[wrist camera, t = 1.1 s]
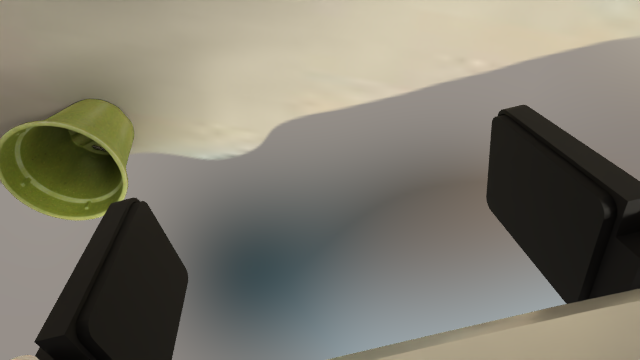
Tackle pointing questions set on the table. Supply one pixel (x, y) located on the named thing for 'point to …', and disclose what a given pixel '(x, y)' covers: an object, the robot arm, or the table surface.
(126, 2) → the table surface
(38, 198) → the plant pot
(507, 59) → the table surface
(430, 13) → the table surface
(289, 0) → the table surface
